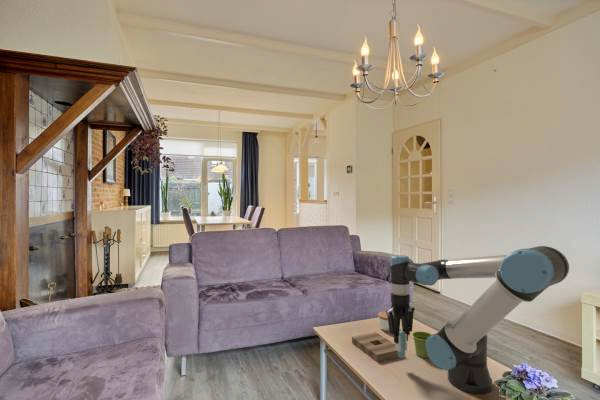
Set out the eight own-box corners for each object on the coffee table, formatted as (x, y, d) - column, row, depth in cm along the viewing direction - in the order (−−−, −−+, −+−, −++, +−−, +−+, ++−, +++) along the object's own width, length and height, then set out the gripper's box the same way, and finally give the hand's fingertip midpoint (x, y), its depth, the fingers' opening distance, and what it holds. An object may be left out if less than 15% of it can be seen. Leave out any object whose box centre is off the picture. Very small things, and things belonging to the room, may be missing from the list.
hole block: (402, 355, 146) (402, 348, 146) (376, 361, 140) (376, 354, 140) (375, 338, 164) (375, 332, 164) (351, 342, 159) (351, 336, 159)
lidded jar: (399, 333, 170) (399, 315, 170) (378, 332, 171) (378, 314, 171) (396, 325, 180) (396, 308, 180) (376, 324, 182) (376, 307, 182)
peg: (406, 357, 134) (406, 332, 134) (401, 358, 133) (400, 334, 133) (401, 354, 137) (401, 330, 137) (395, 355, 136) (395, 331, 136)
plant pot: (436, 360, 141) (436, 340, 141) (413, 358, 143) (413, 339, 143) (432, 350, 150) (432, 332, 150) (410, 349, 152) (410, 330, 152)
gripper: (408, 288, 142) (409, 343, 141) (379, 292, 136) (380, 349, 135) (421, 292, 135) (422, 350, 135) (390, 297, 129) (391, 357, 128)
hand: (401, 349), depth 135 cm, fingers closed on peg, 2 cm apart
